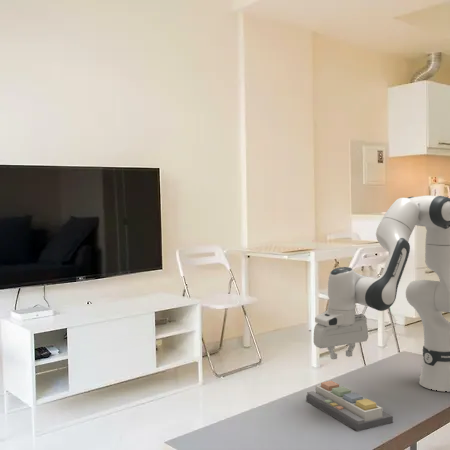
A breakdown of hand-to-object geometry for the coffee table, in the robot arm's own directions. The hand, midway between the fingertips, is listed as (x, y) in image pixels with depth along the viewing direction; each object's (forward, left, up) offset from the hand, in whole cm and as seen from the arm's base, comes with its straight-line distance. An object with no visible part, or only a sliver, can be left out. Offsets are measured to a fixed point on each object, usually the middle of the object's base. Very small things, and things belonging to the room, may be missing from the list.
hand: (341, 357), depth 180 cm
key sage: (0, 0, -13) cm, 13 cm away
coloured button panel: (0, +3, -17) cm, 17 cm away
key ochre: (0, +12, -13) cm, 18 cm away
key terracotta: (0, -6, -13) cm, 15 cm away
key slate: (0, +6, -13) cm, 15 cm away
